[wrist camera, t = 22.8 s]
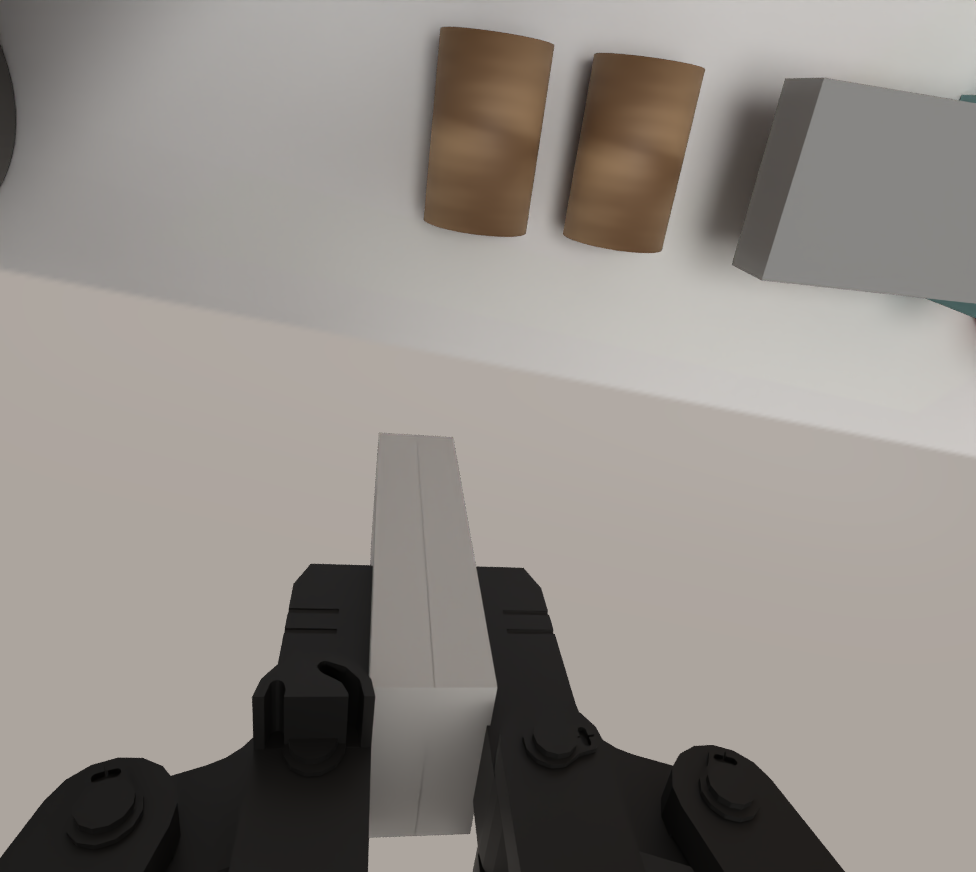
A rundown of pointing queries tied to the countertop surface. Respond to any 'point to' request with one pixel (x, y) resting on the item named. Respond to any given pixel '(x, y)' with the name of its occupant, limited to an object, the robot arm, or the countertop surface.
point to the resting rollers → (517, 129)
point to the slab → (865, 193)
